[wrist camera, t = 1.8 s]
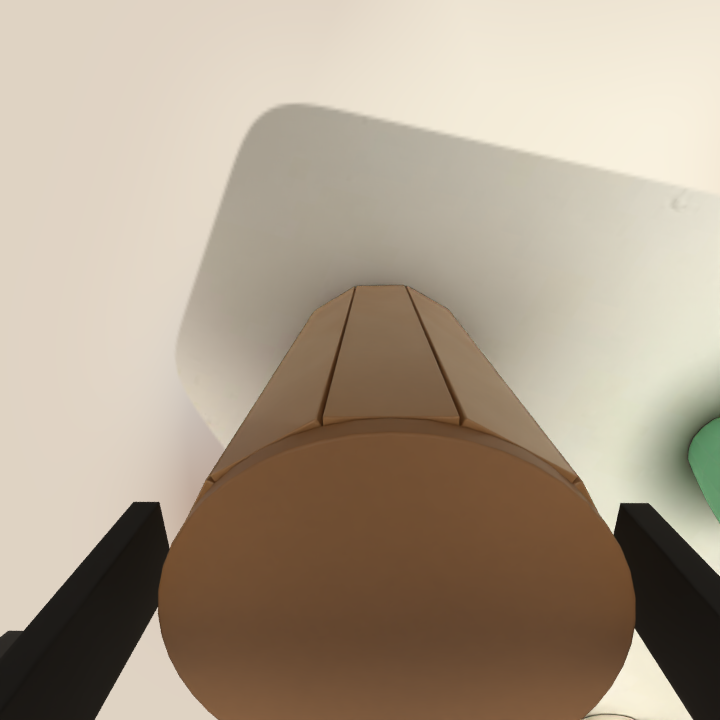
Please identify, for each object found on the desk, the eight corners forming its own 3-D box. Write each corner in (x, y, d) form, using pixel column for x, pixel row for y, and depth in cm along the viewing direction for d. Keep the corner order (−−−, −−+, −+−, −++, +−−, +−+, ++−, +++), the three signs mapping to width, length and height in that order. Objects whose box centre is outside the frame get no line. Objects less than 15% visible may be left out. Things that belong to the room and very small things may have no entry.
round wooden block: (287, 286, 22) (108, 433, 7) (475, 283, 22) (692, 431, 7) (300, 448, 26) (196, 775, 11) (463, 448, 25) (592, 788, 10)
